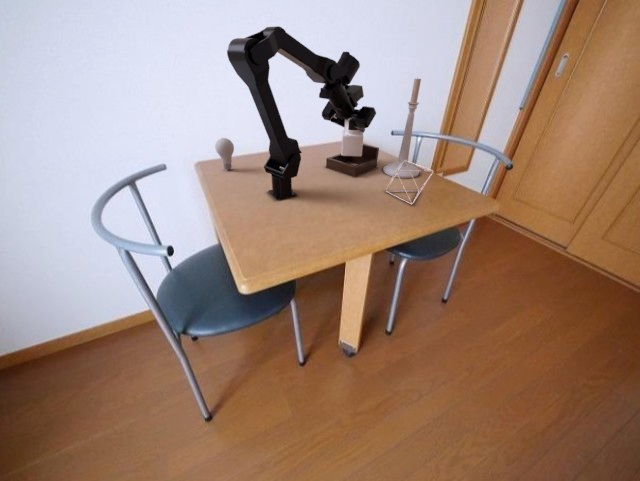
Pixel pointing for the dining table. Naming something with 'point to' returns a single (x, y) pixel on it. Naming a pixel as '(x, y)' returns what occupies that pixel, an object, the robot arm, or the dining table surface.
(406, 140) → the candlestick
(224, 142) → the lightbulb
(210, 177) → the dining table surface
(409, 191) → the geometric polyhedron
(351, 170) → the wooden holder
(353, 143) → the medicine bottle
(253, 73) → the robot arm
